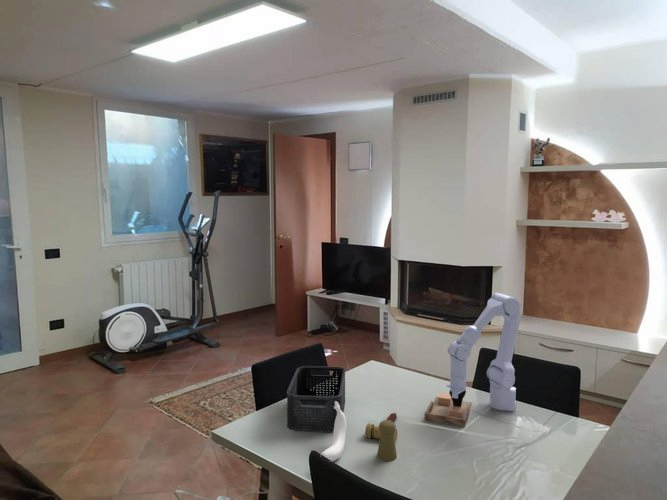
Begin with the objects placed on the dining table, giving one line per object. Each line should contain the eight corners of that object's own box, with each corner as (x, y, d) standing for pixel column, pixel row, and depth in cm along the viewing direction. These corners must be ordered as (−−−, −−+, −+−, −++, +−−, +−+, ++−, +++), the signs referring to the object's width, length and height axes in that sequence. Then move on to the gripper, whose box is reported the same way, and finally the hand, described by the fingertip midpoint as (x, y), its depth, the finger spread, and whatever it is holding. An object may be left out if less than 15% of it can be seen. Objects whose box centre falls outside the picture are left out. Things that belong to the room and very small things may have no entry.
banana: (320, 471, 136) (319, 423, 135) (334, 439, 155) (334, 397, 153) (336, 473, 135) (336, 425, 134) (348, 441, 154) (348, 398, 152)
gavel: (382, 405, 174) (408, 409, 171) (382, 417, 175) (408, 422, 171) (365, 426, 155) (394, 431, 151) (364, 439, 155) (393, 445, 151)
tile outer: (451, 400, 183) (452, 394, 183) (450, 405, 179) (450, 399, 179) (440, 399, 185) (440, 393, 184) (438, 403, 181) (438, 397, 180)
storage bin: (341, 433, 159) (341, 396, 158) (285, 431, 161) (284, 394, 159) (345, 398, 187) (345, 366, 186) (298, 397, 189) (298, 365, 188)
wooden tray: (472, 404, 182) (472, 396, 181) (464, 429, 162) (465, 420, 161) (436, 398, 187) (436, 390, 187) (424, 421, 167) (424, 413, 167)
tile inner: (463, 414, 172) (463, 407, 171) (461, 419, 168) (461, 412, 167) (450, 411, 173) (451, 405, 173) (448, 416, 169) (449, 410, 169)
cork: (396, 451, 147) (396, 418, 146) (397, 461, 141) (397, 427, 140) (377, 450, 148) (377, 417, 147) (377, 460, 142) (377, 426, 141)
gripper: (450, 366, 180) (449, 400, 182) (443, 379, 167) (442, 415, 168) (469, 369, 178) (468, 403, 179) (464, 382, 164) (462, 419, 166)
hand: (457, 409), depth 173 cm, fingers closed
